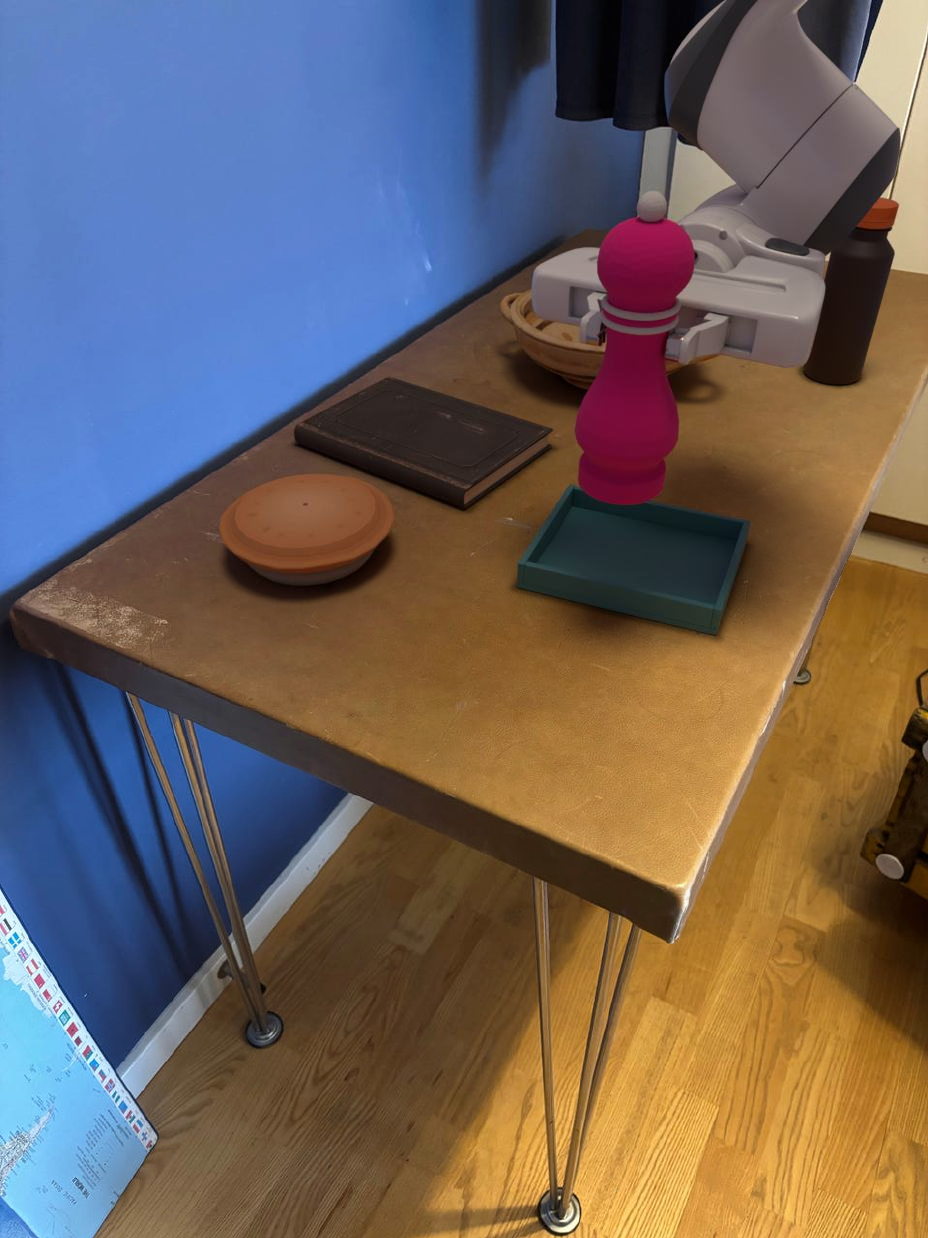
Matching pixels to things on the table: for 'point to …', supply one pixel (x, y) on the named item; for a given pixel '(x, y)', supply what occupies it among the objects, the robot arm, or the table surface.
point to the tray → (637, 559)
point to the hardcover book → (425, 439)
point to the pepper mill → (635, 358)
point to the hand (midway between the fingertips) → (632, 342)
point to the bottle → (853, 298)
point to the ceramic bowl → (561, 343)
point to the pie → (307, 527)
